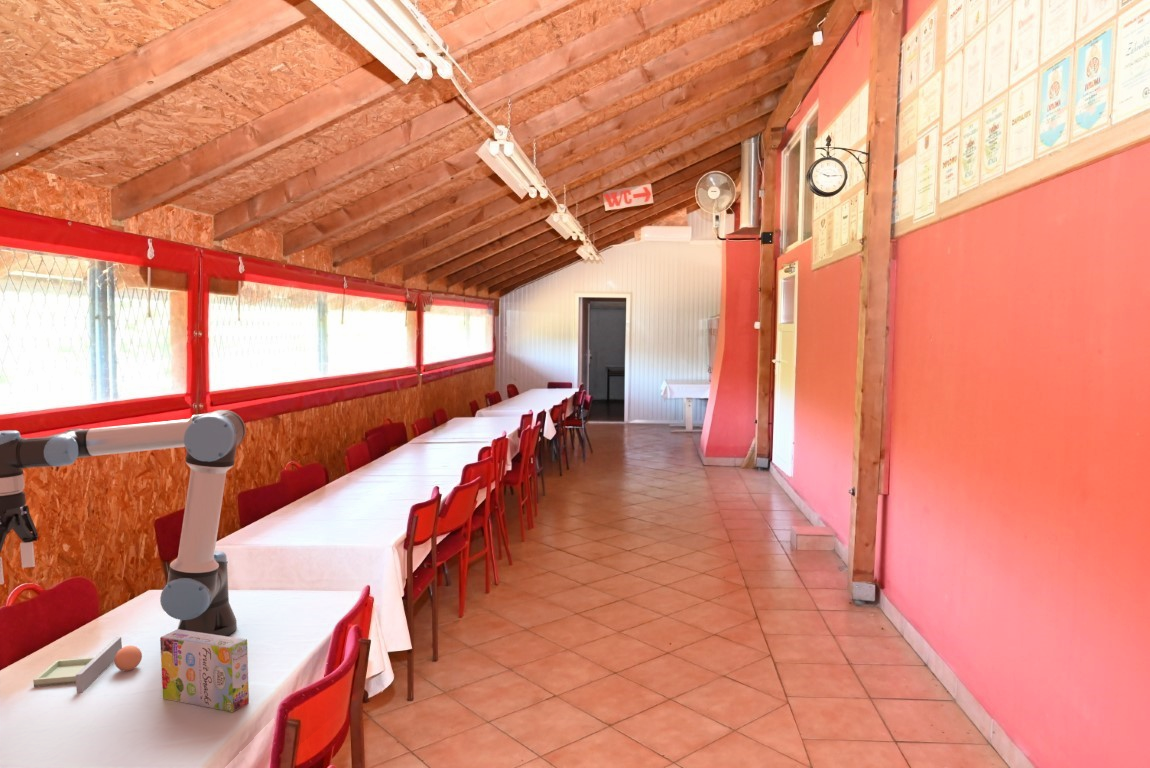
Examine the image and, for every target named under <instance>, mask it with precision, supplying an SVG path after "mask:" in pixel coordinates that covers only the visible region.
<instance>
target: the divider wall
mask: <svg viewBox="0 0 1150 768" xmlns="http://www.w3.org/2000/svg"><path fill="white" fill-rule="evenodd" d="M122 642H123V641H122V637H121V636H115V638H113V640H112V641H111V642H109V644H108V645H106V646H105V647H104V648H103V649H102V650H101V651H99V652H98V653H97V655H95V656H93V657H94V658H93V659H92V660H91V661H90V662H89V663H88V664H87V665H86V666H85V667H84V668H82V669H81V670H80V671H79V672H78V673H77V674H76V683H75V685H76V687H75V688H76V694H82V693H84V692H85V691H86V690H88V689H89V687H90V686H91V685H92V684H93V682H95V680H97V679H98V678H99V677H100V676H101V675H102V674H103V672H105V671H106V670H107V669H108V668H109V667H110V666H111V665H113V663H115V662H114V659H115V655H116V653H117V652H118V651H119V650H120V649H121V648H123V646H122V645H123V644H122Z"/></svg>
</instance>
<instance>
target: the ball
mask: <svg viewBox="0 0 1150 768" xmlns="http://www.w3.org/2000/svg"><path fill="white" fill-rule="evenodd" d="M142 658H143V654H142V651H141V649H140V648H138V647H137V646H135V645H126V646H122V648H121V649H120V650H119V651H118V652H117V653H116V655H115V659H114V662H113V663H114V665H115V667H116V669H118V670H120V671H124V672H128V671H131V670H134V669H136V668H137V667H138V666H139V665H140V663H141V662H142Z"/></svg>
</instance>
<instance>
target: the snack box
mask: <svg viewBox="0 0 1150 768" xmlns="http://www.w3.org/2000/svg"><path fill="white" fill-rule="evenodd" d="M159 641H160V658H161V659H160V662H161V663H160V665H161V684H162V685H161V686H162V687H161V690H162V699H163V700H164V699H165V700H168V701H169V700H170V701H174V702H175V701H176V702H181V703H183V704H184V703H186V704H190V705H194V706H200V707H205V708H210V709H214V710H215V709H216V710H220V711H226V712H231V713H234V712H235V711H237V710H239V709H241V708H243V707H244V706H245V705H247V704H249V702H250V696H249V695H250V691H249V689H250V688H249V661H248V660H249V659H248V658H249V657H248V639H246V638H240V637H233V636H221V635H214V634H207V633H200V632H193V631H187V630H180V629H178V628H177V629H175V630H173V631H171V632H168V633H166V634H164V635H161V636H160V639H159Z"/></svg>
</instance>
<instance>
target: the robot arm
mask: <svg viewBox="0 0 1150 768" xmlns="http://www.w3.org/2000/svg"><path fill="white" fill-rule="evenodd" d="M246 431H247V429H246V425H245V423H244V419H242V417H241V416H240V415H239V414H237V413H236V412H234V411H232V410H227V409H218V410H214V411H211V412H207V413H206V412H205V413H201V414H200V413H199V414H193V415H192V416H191V417H190V418H186V419H175V420H168V421H167V420H166V421H165V420H164V421H156V422H144V423H135V424H125V425H124V424H123V425H114V426H102V427H95V428H92V427H91V428H89V429H88V428H87V429H85V428H84V429H83V428H74V429H73V428H72V429H68V430H65V431H62V432H59V433H55V434H51V435H48V436H42V437H28V438H27V437H22V436H21V433H20V432H21V431H18V430H0V554H1V552H2V549H3V547H4V544H5V541H6V538H7V535H8V534H9V533H11V531H14V533H15V534H16V535H17V536H18V538H19V539H20V540H21V542H20V543H19V547H20V548H19V549H20V560H21V568H22V569H23V568H24V569H25V568H34V567H36V562H35V560H36V559H35V552H34V551H35V550H34V549H35V548H34V542H37V541H38V536H39V533H38V530H37V527H36V526H35V525H36V524H34V520H33V518H32V516H31V514H30V507H29V505H27V500H26V499H27V498H26V492H25V491H24V489H25V488H26V487H25V477H24V469H27V468H46V467H48V468H49V467H50V468H51V467H55V468H60V467H63V466H71V465H73V464H74V463H75V462H76V460H77V459H79V458H80V459H81V458H89V457H96V456H103V455H105V456H106V455H115V454H117V455H118V454H126V453H135V452H144V451H146V452H147V451H155V450H166V449H175V448H184V447H185V449H186V455H185V463H186V465H187V466H188V468H190V473H189V481H188V486H187V493H186V498H185V499H186V500H185V507H184V513H183V519H182V527H181V533H180V539H179V545H178V546H179V547H178V555H177V557H176V558H175V559H173V560H172V561H171V562H170V564H169V570H168V574H167V575H168V577H167V582H166V584H165V585H164V586H163V589H162V591H161V593H160V598H159V599H160V605H161V608H162V611H164V612H165V613H166V614H167V615H168V616H169V617H171V618H173V619H176V620H179V622H178V626H177V629H180V630H187V631H193V632H200V633H207V634H214V635H221V636H227V637H229V636H230V635H231V634H233V633H234V632H235V631H236V630H237V628H238V627H237V618H236V616H235V613H234V611H233V609H232V606H231V604H230V598H229V596H230V595H229V578H228V577H229V575H228V571H229V570H228V557H227V554H226V553H225V552H223V551H220V550H216V546H217V545H216V544H217V538H218V532H219V526H220V519H221V511H222V507H223V506H222V505H223V499H224V498H223V497H224V492H225V491H224V490H225V486H226V485H225V484H226V478H227V472H228V471H229V470H230V469H232V468H234V466H235V461H236V453H237V447H238V446H239V445H241V444H242V442H243V440H244V438H245V436H246ZM3 566H4V565H3V557H2V556H0V585H4V584H5V580H4V579H5V577H4V568H3Z"/></svg>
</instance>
